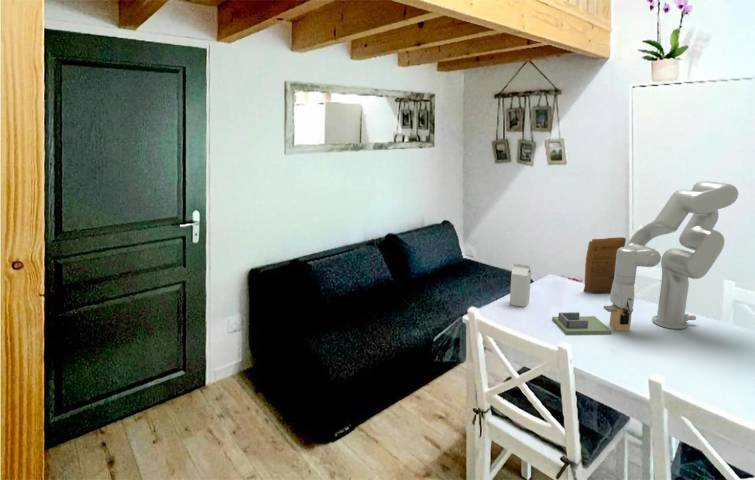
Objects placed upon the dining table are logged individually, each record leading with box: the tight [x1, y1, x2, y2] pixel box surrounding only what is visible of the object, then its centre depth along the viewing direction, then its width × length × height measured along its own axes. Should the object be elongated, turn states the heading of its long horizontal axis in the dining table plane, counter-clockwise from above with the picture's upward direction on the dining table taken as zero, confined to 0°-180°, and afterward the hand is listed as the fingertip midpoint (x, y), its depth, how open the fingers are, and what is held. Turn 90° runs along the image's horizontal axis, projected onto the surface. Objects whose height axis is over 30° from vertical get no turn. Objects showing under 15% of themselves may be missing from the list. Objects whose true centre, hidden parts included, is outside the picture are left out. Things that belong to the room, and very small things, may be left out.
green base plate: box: [551, 311, 613, 336], centre depth 195 cm, size 18×15×4 cm
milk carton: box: [509, 263, 532, 308], centre depth 221 cm, size 7×7×19 cm
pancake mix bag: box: [583, 237, 627, 294], centre depth 234 cm, size 7×19×28 cm, turn 90°
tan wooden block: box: [603, 304, 633, 332], centre depth 194 cm, size 9×6×9 cm, turn 90°
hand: (620, 320), depth 194 cm, fingers closed on tan wooden block, 5 cm apart
